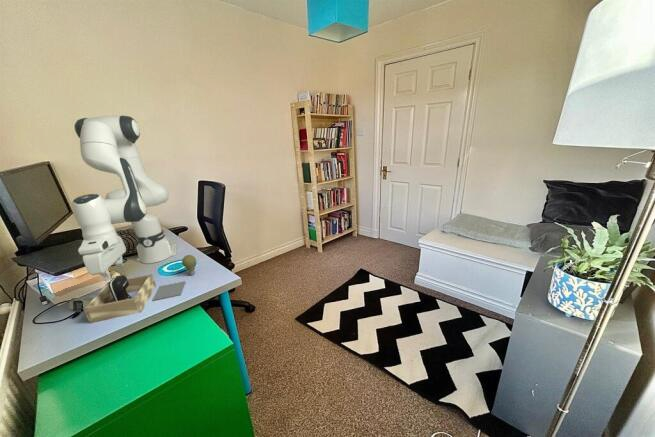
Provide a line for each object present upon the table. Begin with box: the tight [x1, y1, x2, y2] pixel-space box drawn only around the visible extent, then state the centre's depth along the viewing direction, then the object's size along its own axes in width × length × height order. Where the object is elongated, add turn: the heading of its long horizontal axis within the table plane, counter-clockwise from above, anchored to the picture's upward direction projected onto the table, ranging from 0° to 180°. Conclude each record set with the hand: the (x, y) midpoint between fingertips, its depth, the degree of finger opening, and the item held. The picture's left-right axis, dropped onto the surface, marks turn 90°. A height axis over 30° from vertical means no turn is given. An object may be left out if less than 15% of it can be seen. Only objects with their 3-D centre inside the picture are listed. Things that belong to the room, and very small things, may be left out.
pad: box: [151, 281, 186, 302], centre depth 106 cm, size 10×10×1 cm
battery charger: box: [109, 274, 133, 302], centre depth 99 cm, size 7×4×11 cm, turn 19°
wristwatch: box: [68, 296, 95, 312], centre depth 99 cm, size 9×6×5 cm
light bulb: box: [181, 254, 197, 276], centre depth 117 cm, size 6×6×10 cm
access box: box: [83, 273, 157, 324], centre depth 99 cm, size 18×16×6 cm
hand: (114, 273), depth 96 cm, fingers open, 8 cm apart
